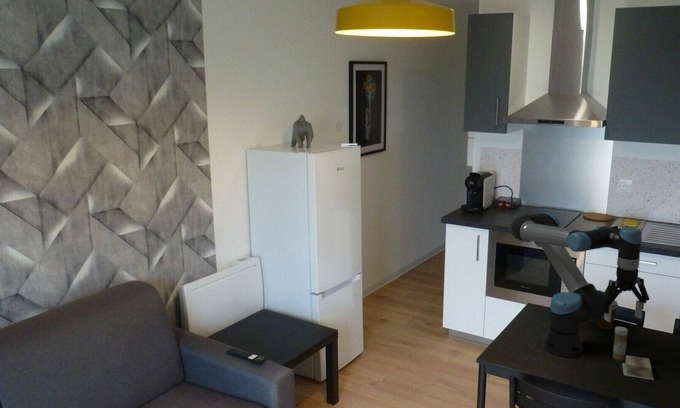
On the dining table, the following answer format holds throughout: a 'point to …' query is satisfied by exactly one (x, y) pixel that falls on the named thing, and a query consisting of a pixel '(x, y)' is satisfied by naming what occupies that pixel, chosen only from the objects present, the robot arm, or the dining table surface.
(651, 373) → the plate
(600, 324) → the disposable coffee cup
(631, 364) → the beech block
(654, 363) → the dining table surface
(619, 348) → the sprinkles bottle
